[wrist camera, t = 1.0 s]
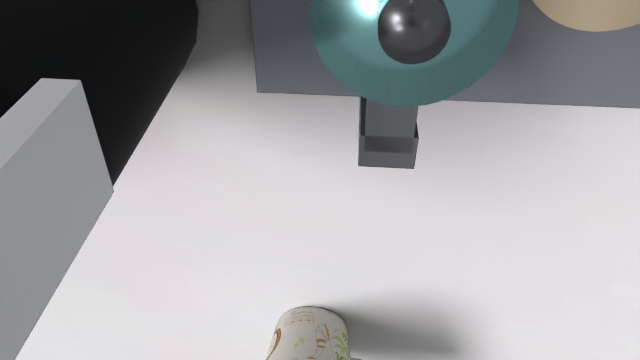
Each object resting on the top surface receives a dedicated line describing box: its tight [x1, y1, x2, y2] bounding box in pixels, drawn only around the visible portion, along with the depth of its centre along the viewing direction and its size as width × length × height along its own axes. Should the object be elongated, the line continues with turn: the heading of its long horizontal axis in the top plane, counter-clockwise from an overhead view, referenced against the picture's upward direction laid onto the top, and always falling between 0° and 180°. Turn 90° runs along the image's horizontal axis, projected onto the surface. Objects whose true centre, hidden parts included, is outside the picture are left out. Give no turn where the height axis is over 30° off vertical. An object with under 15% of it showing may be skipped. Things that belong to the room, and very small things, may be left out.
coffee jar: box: [0, 0, 198, 186], centre depth 21 cm, size 11×11×18 cm
